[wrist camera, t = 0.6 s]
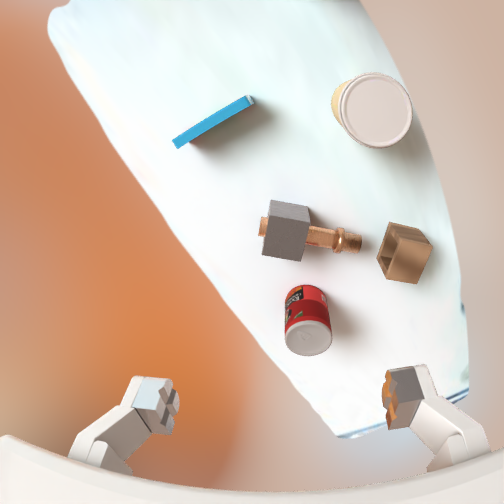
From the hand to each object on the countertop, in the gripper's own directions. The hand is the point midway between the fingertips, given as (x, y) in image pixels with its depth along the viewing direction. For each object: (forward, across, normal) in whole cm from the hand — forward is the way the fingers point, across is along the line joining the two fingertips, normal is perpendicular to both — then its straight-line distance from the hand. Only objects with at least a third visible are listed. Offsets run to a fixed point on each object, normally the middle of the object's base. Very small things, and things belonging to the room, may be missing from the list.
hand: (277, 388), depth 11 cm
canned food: (+42, -2, +27) cm, 50 cm away
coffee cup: (+42, -12, -7) cm, 44 cm away
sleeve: (+42, 0, +11) cm, 43 cm away
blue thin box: (+42, +9, -7) cm, 43 cm away
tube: (+40, -4, +12) cm, 42 cm away
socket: (+42, -19, +16) cm, 49 cm away
